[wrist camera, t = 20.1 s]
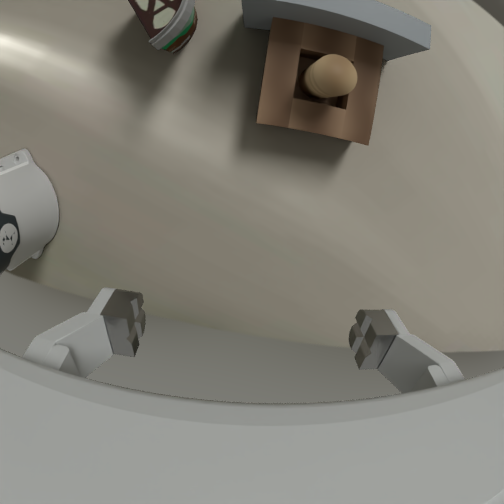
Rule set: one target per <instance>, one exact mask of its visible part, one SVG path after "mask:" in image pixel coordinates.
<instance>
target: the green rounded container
mask: <svg viewBox="0 0 504 504" xmlns="http://www.w3.org/2000/svg"><path fill="white" fill-rule="evenodd" d="M128 1H129V3H130V4H131V6H132V8H133V9H134V11H135V12H136V14H137V16H138V18H139V19H140V21H141V23H142V24H143V26H144V28H145V30H146V31H147V33H148V35H149V37H150V38H151V40H149V41H148V42H150V43H151V44H152V46H154V47H155V48H156V49H157V50H159V49H161V48H162V49H164V50H167V51H169V52H171V53H173V54H174V53H175V52H177V51H178V50H180V49H181V48H182V47H183V46H184V45H185V44H186V43H187V42H188V41H189V40H190V39H191V37H192V35H193V34H194V32H195V30H196V25H197V20H198V19H197V14H196V10H195V7H194V3H195V0H128Z"/></svg>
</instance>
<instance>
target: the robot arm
mask: <svg viewBox="0 0 504 504" xmlns="http://www.w3.org/2000/svg"><path fill="white" fill-rule="evenodd" d="M58 222H59V208H58V202H57V197H56V194H55V191H54V188H53V186H52V184H51V182H50V180H49V179H48V177H47V176H46V174H45V173H44V172H43V171H42V170H41V169H40V168H39V167H38V166H37V165H36V164H35V163H34V161H33V159H32V157H31V155H30V153H29V151H28V150H27V149H21V150H19V151H17V152H14V153H12V154H10V155H7V156H5V157H3V158H1V159H0V275H1V274H2V273H3V271H4V270H5V269H7V270H9V271H11V270H13V269H15V268H16V267H17V266H19V265H20V264H21V263H23V262H24V261H26V260H27V259H28V258H30V257H31V258H34V259H37V258H38V257H40V256H41V254H42V251H43V248H44V246H45V245H46V244H47V243H48V242H50V241H51V239H52V238H53V237H54V235H55V233H56V230H57V227H58ZM143 303H144V301H143V295H142V293H140V292H133V291H127V290H121V289H114V288H108V287H105V288H102V290H101V291H100V293H99V294H98V296H97V297H96V299H95V300H94V302H93V303H92V305H91V306H90V308H89V309H88V311H87V313H86V312H82V313H80V314H78V315H76V316H74V317H73V318H70V319H68V320H66V321H64V322H62V323H61V324H59V325H57V326H55V327H53V328H51V329H49V330H47V331H45V332H43V333H41V334H39V335H37V336H36V337H35V338H34V339H33V341H32V342H31V344H30V345H29V347H28V349H27V350H26V352H25V353H24V355H23V356H22V357H20V356H17V355H15V354H12V353H10V352H7V351H5V350H2V349H0V504H504V367H503V368H500V369H497V370H494V371H491V372H488V373H485V374H482V375H479V376H475V377H472V378H468V379H465V378H464V377H463V375H462V373H461V372H460V370H459V368H458V367H457V365H456V364H455V362H454V361H453V360H452V359H450V358H449V357H447V356H446V355H444V354H443V353H441V352H439V351H438V350H436V349H435V348H433V347H432V346H430V345H429V344H427V343H426V342H424V341H423V340H421V339H420V338H418V337H416V336H415V335H413V334H409V332H408V330H407V329H406V327H405V326H404V324H403V322H402V321H401V319H400V318H399V316H398V315H397V313H396V312H395V311H394V310H393V309H382V310H359V311H358V313H357V315H356V317H355V318H356V321H357V323H355V324H354V325H353V326H352V327H351V330H350V333H349V345H350V347H351V349H352V350H353V351H354V352H355V353H356V355H355V360H356V363H357V365H358V368H359V370H360V369H378V371H379V372H380V373H381V374H382V375H384V376H385V377H386V378H387V379H388V380H389V381H390V382H391V383H392V384H393V385H394V386H395V387H396V388H397V389H398V390H399V391H400V392H401V394H395V395H388V396H382V397H374V398H366V399H358V400H346V401H334V402H318V403H284V404H283V403H241V402H225V401H224V402H223V401H213V400H202V399H193V398H184V397H177V396H169V395H163V394H156V393H150V392H144V391H139V390H134V389H129V388H124V387H119V386H114V385H111V384H106V383H102V382H98V381H94V380H90V379H87V378H86V377H87V376H88V375H89V374H91V373H92V372H93V371H94V370H96V368H98V367H99V366H100V365H102V364H103V363H104V362H105V361H106V360H108V359H109V358H110V357H111V356H113V354H118V355H124V356H130V357H135V355H136V352H137V349H138V346H139V340H138V338H140V337H142V336H143V333H144V329H145V311H144V310H143V309H142V308H141V307H142V305H143Z"/></svg>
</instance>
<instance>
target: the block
mask: <svg viewBox="0 0 504 504" xmlns="http://www.w3.org/2000/svg"><path fill="white" fill-rule="evenodd" d="M383 50H384V45H381V44H378V43H375V42H373V41H370V40H367V39H364V38H361V37H358V36H355V35H351V34H348V33H345V32H341V31H338V30H334V29H330V28H326V27H322V26H318V25H314V24H309V23H304V22H300V21H294V20H289V19H283V18H277V17H273V19H272V24H271V28H270V34H269V40H268V46H267V53H266V59H265V65H264V72H263V78H262V85H261V91H260V98H259V105H258V111H257V118H256V123H260V124H267V125H274V126H280V127H286V128H292V129H297V130H303V131H308V132H313V133H318V134H322V135H327V136H332V137H336V138H340V139H344V140H349V141H353V142H357V143H360V144H364V145H369V140H370V135H371V129H372V124H373V119H374V113H375V107H376V101H377V95H378V88H379V82H380V74H381V67H382V59H383ZM330 54H336V55H340V56H343V57H345V58H346V59H348V60H349V61H350V62H351V63H352V64H353V66H354V67H355V69H356V72H357V83H356V86H355V88H354V89H353V90H352V91H351V92H350V93H348V94H346V95H342V96H335V97H328V98H322V99H313V98H310V97H308V96H306V95H305V94H304V93H303V92H302V91H301V89H300V87H299V76H300V74H301V73H302V72H303V71H304V70H305V69H306V68H308V67H309V66H310V65H312V64H313V63H315V62H316V61H317V60H319V59H320V58H322V57H323V56H326V55H330Z"/></svg>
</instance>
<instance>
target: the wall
mask: <svg viewBox="0 0 504 504" xmlns="http://www.w3.org/2000/svg"><path fill="white" fill-rule="evenodd" d="M242 9H243V19H244V27H247V28H256V29H264V30H270V28H271V24H272V19H273V17H277V18H283V19H289V20H294V21H300V22H304V23H309V24H314V25H318V26H322V27H326V28H330V29H334V30H338V31H341V32H345V33H348V34H351V35H355V36H358V37H361V38H364V39H367V40H370V41H373V42H375V43H378V44H381V45H384V50H383V59H385V60H387V61H389V60H392V59H395V58H399V57H402V56H406V55H410V54H413V53H417V52H421V51H425V50H429V49H430V39H431V25H429V24H427V23H425V22H423V21H421V20H419V19H417V18H415V17H413V16H411V15H409V14H406V13H404V12H402V11H400V10H397V9H395V8H393V7H390V6H388V5H385V4H383V3H380V2H378V1H375V0H242Z"/></svg>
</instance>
